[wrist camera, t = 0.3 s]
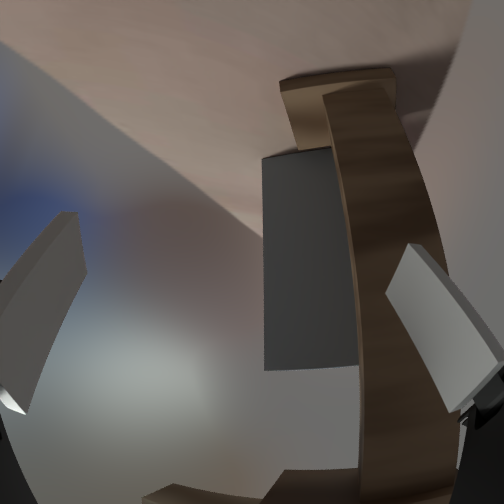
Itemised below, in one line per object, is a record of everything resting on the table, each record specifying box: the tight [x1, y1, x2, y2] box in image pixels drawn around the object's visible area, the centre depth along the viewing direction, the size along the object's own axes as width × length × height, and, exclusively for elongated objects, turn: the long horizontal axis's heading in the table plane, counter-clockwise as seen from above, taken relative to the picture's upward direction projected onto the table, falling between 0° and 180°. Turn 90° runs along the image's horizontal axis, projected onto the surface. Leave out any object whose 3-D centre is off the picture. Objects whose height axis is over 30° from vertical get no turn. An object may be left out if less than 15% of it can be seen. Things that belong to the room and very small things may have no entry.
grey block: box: [262, 148, 359, 371], centre depth 28 cm, size 8×11×20 cm
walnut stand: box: [259, 68, 461, 504], centre depth 17 cm, size 7×11×30 cm, turn 107°
